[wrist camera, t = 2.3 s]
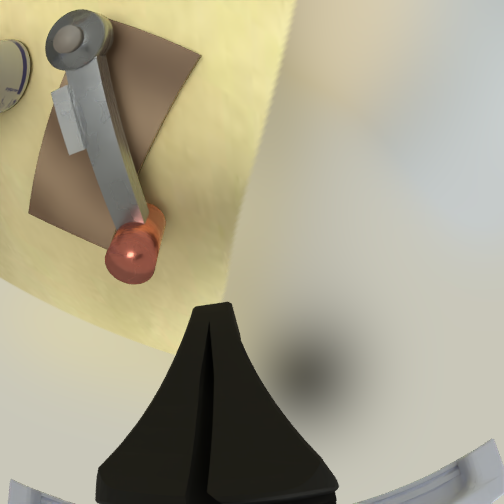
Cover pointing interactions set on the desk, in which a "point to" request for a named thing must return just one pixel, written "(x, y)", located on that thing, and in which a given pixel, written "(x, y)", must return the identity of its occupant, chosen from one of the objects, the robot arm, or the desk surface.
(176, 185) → the desk surface
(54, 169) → the press base
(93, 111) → the lever
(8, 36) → the desk surface
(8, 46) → the energy drink
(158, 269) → the desk surface
